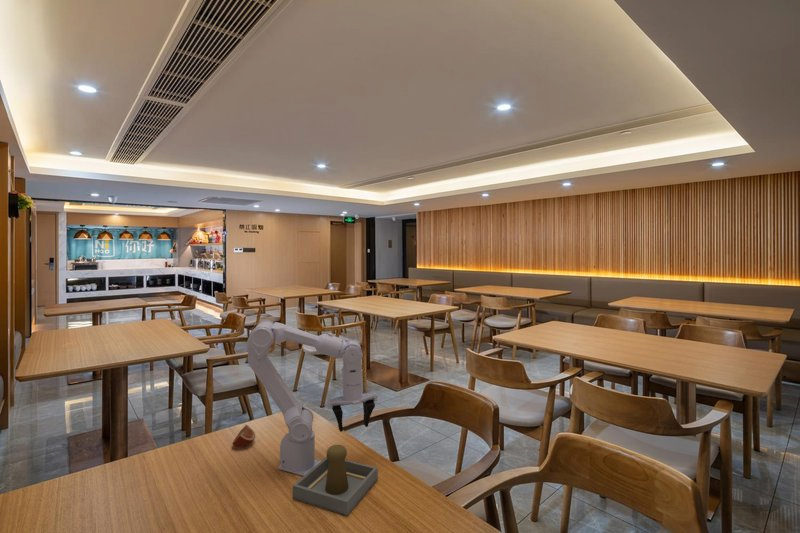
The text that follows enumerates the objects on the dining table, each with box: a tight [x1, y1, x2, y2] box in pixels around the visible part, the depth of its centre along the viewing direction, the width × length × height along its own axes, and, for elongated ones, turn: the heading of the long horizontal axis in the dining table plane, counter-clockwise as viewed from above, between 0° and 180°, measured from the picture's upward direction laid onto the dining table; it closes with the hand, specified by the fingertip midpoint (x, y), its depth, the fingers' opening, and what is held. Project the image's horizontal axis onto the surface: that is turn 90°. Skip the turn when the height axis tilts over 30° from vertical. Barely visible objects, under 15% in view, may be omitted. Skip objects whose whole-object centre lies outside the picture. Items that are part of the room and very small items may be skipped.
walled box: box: [292, 456, 379, 517], centre depth 106 cm, size 16×16×4 cm
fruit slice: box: [232, 424, 256, 448], centre depth 129 cm, size 8×7×5 cm
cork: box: [325, 444, 348, 495], centre depth 105 cm, size 6×6×11 cm
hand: (353, 427), depth 118 cm, fingers open, 7 cm apart
